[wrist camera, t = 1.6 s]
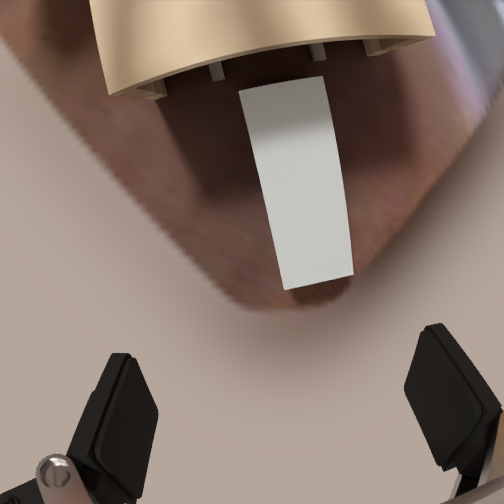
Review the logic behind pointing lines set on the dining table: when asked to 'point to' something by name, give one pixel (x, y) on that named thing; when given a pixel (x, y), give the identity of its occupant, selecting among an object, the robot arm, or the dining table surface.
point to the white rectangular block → (300, 179)
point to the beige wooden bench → (237, 33)
